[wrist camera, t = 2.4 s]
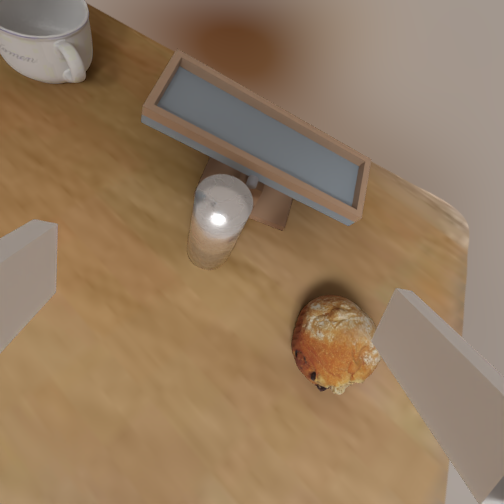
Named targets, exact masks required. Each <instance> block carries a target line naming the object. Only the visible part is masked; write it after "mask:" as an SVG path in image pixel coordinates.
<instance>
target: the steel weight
mask: <svg viewBox="0 0 504 504" xmlns="http://www.w3.org/2000/svg"><path fill="white" fill-rule="evenodd" d="M252 208H253V197H252V194H251V192H250V190H249V188H248V187H247V186H246V185H245V184H244V183H243V182H242V181H241V180H239V179H238V178H236V177H234V176H231V175H226V174H216V175H212V176H209V177H207V178H205V179H204V180H203V181H202V182H201V183H200V184H199V185H198V187H197V190H196V193H195V200H194V206H193V212H192V219H191V225H190V231H189V238H188V244H187V254H188V257H189V259H190V260H191V262H192V263H193V264H195V265H196V266H197V267H199V268H202V269H206V270H211V269H216V268H218V267H220V266H222V265H223V264H224V263H225V262H226V260H227V258H228V256H229V254H230V253H231V251H232V249H233V247H234V245H235V243H236V241H237V239H238V237H239V235H240V233H241V231H242V229H243V227H244V225H245V223H246V221H247V219H248V217H249V215H250V213H251V211H252Z"/></svg>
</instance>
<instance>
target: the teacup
mask: <svg viewBox="0 0 504 504" xmlns="http://www.w3.org/2000/svg"><path fill="white" fill-rule="evenodd" d="M0 54H1V56H2V57H3V58H4V60H5V61H6V62H7V63H8V64H9V65H10V66H11V67H12V68H13V69H15V70H16V71H18V72H19V73H21V74H22V75H24V76H26V77H29V78H31V79H34V80H38V81H41V82H45V83H52V84H58V83H65V82H69V83H72V82H73V83H79V82H82V81H84V80H85V78H86V71H87V69H88V68H89V66H90V64H91V62H92V57H93V45H92V36H91V29H90V23H89V9H88V6H87V3H86V2H85V0H0Z"/></svg>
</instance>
